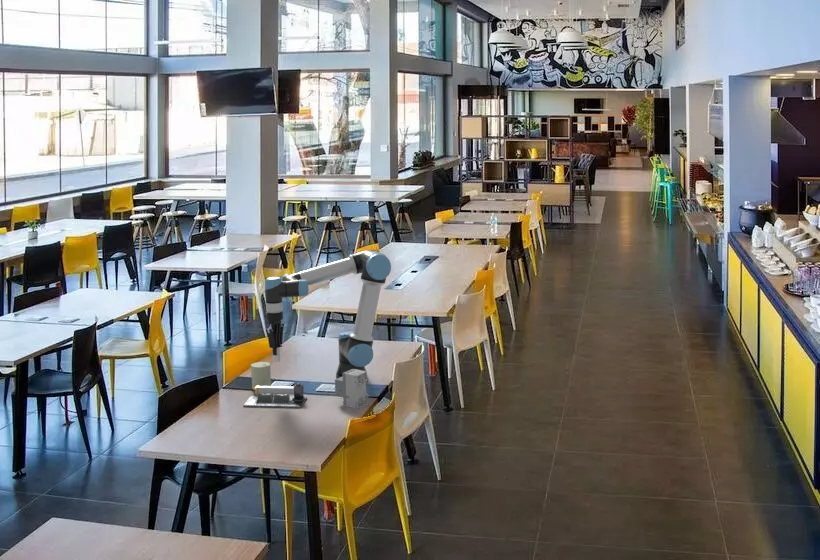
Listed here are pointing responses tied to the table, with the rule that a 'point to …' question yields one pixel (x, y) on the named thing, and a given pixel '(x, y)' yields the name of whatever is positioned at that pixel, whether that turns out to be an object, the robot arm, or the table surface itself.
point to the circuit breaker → (352, 388)
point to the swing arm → (282, 390)
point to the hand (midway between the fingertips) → (276, 361)
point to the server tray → (274, 401)
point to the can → (260, 374)
